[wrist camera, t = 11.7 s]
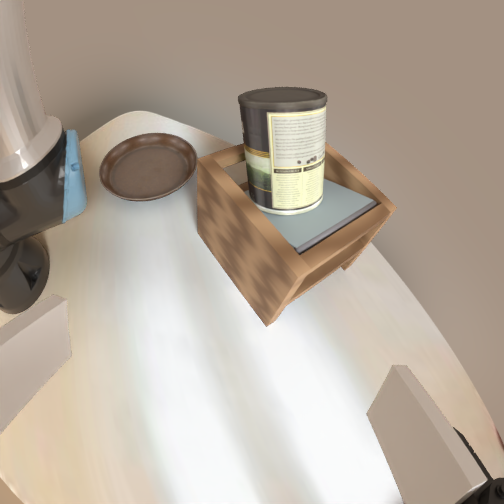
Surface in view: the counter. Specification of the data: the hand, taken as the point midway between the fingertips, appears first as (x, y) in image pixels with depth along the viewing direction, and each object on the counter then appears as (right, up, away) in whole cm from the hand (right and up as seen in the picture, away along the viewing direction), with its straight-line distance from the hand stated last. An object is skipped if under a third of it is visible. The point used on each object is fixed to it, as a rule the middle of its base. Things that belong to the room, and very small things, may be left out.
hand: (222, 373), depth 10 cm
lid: (+8, +11, +28) cm, 31 cm away
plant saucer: (-20, +21, +45) cm, 54 cm away
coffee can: (+6, +12, +29) cm, 32 cm away
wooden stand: (+5, +5, +39) cm, 40 cm away
